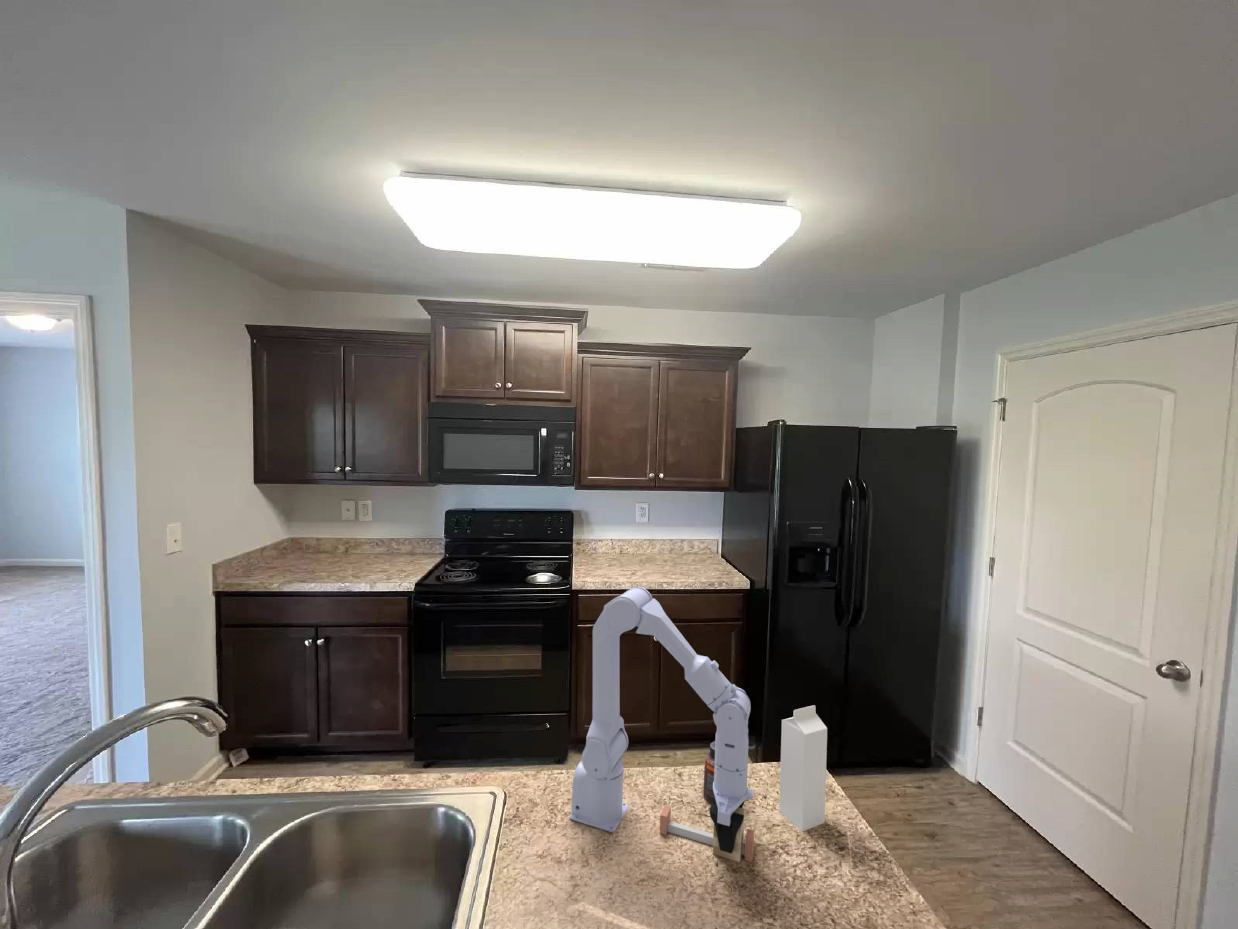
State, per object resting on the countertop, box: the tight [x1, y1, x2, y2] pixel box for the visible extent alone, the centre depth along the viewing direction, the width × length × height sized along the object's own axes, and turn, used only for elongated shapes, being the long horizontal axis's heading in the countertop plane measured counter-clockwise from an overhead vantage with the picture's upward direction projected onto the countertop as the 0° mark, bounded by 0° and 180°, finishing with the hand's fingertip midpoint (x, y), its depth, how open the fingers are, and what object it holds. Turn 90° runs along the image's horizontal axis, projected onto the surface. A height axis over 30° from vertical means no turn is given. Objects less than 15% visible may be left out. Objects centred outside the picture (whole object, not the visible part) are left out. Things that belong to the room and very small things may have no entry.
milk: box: [778, 704, 828, 832], centre depth 96 cm, size 6×6×22 cm
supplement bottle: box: [703, 741, 717, 806], centre depth 101 cm, size 6×6×11 cm
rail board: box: [659, 804, 755, 863], centre depth 88 cm, size 17×9×4 cm, turn 69°
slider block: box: [712, 807, 745, 863], centre depth 87 cm, size 5×5×6 cm
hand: (728, 839), depth 87 cm, fingers closed on slider block, 5 cm apart
